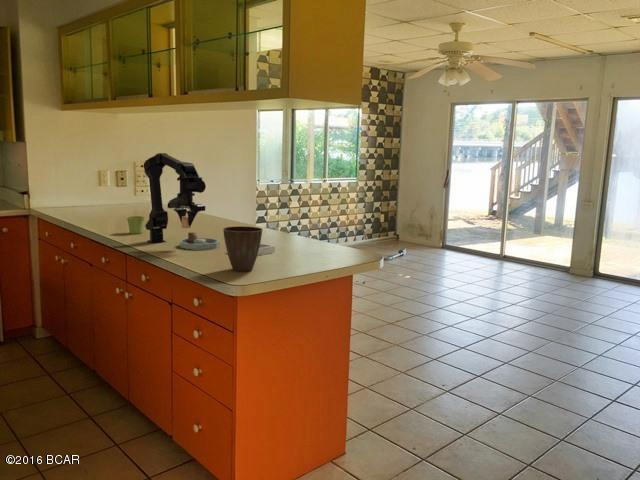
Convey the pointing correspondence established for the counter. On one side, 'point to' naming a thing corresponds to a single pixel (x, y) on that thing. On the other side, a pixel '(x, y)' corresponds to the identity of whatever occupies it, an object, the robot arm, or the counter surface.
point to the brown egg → (185, 222)
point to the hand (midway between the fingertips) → (186, 225)
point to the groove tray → (200, 244)
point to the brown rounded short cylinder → (192, 237)
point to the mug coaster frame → (266, 249)
